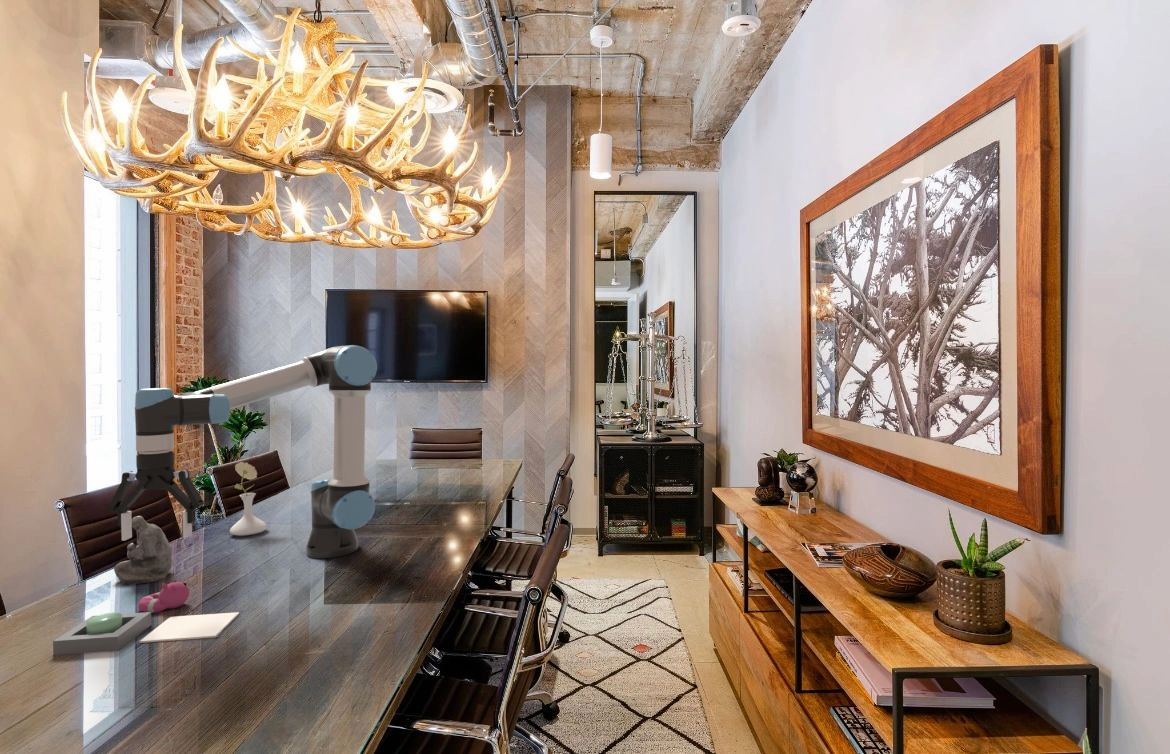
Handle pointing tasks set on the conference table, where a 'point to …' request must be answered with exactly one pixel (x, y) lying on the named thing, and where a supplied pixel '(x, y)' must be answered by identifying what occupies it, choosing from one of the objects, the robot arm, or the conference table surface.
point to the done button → (104, 623)
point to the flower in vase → (247, 505)
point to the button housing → (101, 636)
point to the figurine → (145, 555)
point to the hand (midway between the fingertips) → (157, 537)
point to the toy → (165, 598)
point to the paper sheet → (190, 627)
